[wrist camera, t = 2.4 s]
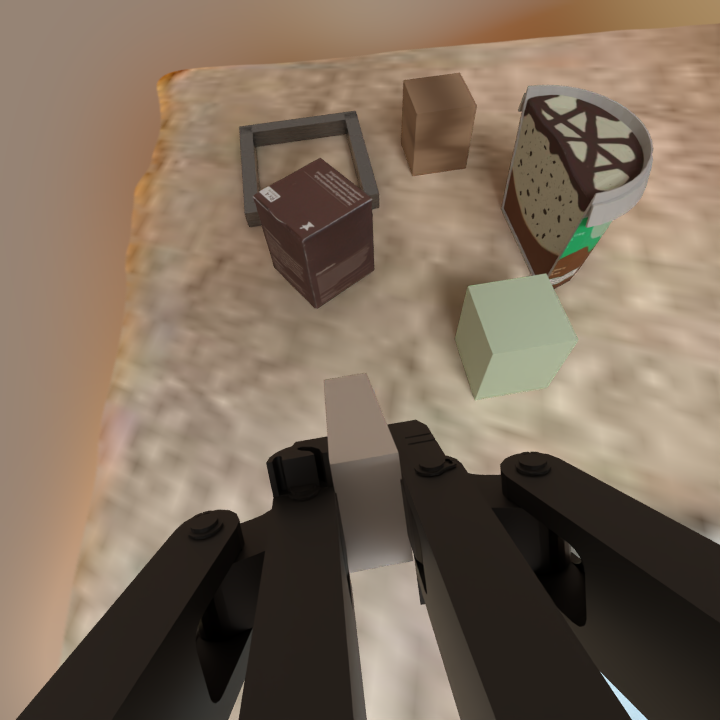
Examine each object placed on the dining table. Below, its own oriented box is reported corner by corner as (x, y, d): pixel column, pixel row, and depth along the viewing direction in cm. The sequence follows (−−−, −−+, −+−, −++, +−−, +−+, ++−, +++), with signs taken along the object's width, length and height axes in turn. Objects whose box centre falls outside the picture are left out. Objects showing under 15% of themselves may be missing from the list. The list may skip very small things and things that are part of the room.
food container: (625, 295, 36) (703, 185, 27) (546, 308, 35) (600, 200, 27) (562, 187, 42) (609, 70, 33) (495, 197, 42) (525, 81, 33)
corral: (356, 125, 48) (355, 110, 46) (379, 207, 41) (378, 193, 40) (243, 140, 47) (239, 126, 46) (249, 226, 41) (244, 213, 40)
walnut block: (451, 135, 46) (460, 72, 41) (465, 168, 44) (476, 105, 39) (401, 143, 46) (403, 80, 41) (412, 176, 44) (416, 113, 38)
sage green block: (521, 328, 35) (546, 273, 29) (546, 388, 32) (578, 339, 27) (454, 339, 34) (467, 286, 29) (474, 400, 32) (492, 354, 27)
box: (376, 272, 38) (375, 198, 31) (315, 312, 36) (301, 242, 30) (330, 231, 40) (321, 155, 34) (271, 266, 39) (250, 193, 32)
